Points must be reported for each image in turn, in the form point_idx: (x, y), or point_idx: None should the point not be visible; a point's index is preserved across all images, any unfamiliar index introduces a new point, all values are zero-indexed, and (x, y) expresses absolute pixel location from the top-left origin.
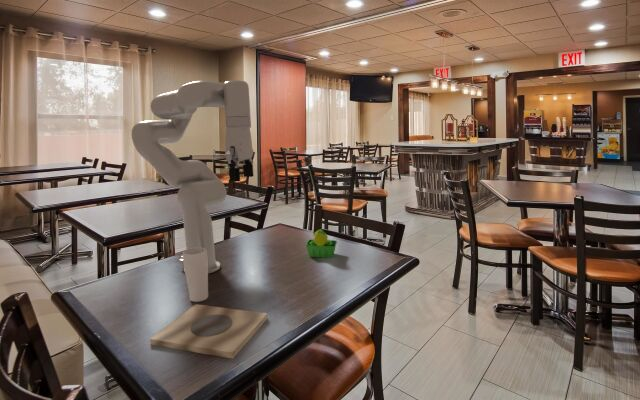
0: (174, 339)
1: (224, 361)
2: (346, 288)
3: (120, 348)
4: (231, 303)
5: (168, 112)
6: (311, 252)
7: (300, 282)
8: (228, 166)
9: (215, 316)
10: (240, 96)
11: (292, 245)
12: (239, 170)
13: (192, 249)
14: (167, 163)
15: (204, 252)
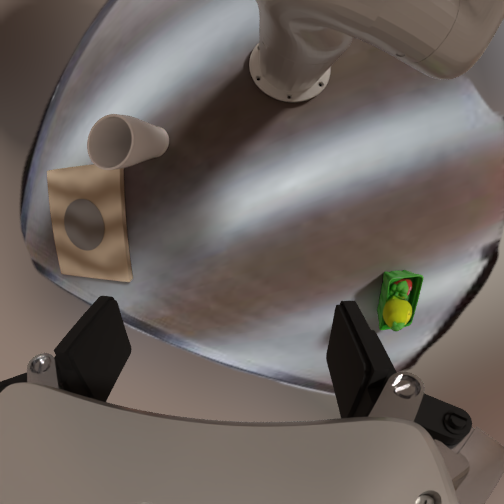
0: (52, 200)
1: None
2: (249, 353)
3: (41, 143)
4: (153, 207)
5: None
6: (384, 281)
7: (258, 290)
8: (32, 364)
9: (97, 218)
10: None
11: (443, 219)
12: (103, 398)
13: (125, 121)
14: None
15: (110, 169)
